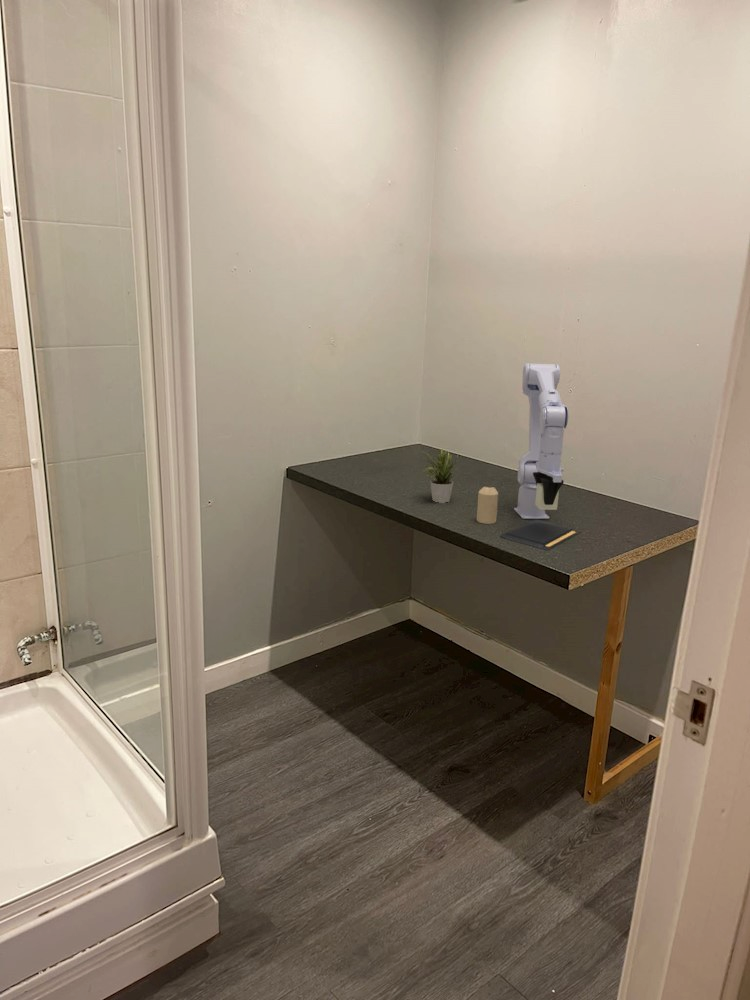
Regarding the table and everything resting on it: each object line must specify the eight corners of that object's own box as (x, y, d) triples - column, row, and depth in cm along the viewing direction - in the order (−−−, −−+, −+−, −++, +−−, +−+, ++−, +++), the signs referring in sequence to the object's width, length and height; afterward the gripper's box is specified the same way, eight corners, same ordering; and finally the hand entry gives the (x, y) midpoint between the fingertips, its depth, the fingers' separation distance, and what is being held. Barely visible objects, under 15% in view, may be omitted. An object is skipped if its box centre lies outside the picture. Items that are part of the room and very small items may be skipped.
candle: (494, 518, 206) (496, 484, 204) (497, 524, 201) (500, 490, 198) (475, 517, 206) (477, 484, 203) (478, 524, 201) (480, 489, 198)
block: (535, 504, 193) (537, 483, 191) (551, 504, 194) (553, 483, 192) (540, 509, 189) (542, 487, 187) (556, 509, 189) (559, 487, 188)
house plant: (413, 493, 229) (415, 443, 224) (456, 493, 230) (459, 443, 225) (419, 506, 215) (421, 453, 211) (464, 506, 216) (468, 454, 212)
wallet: (534, 516, 205) (583, 528, 195) (534, 522, 206) (583, 535, 196) (496, 532, 191) (547, 546, 181) (495, 538, 191) (546, 553, 182)
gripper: (575, 458, 180) (569, 509, 184) (555, 445, 194) (550, 493, 198) (548, 458, 180) (543, 509, 183) (530, 445, 193) (526, 494, 197)
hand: (545, 501), depth 191 cm, fingers closed on block, 4 cm apart
